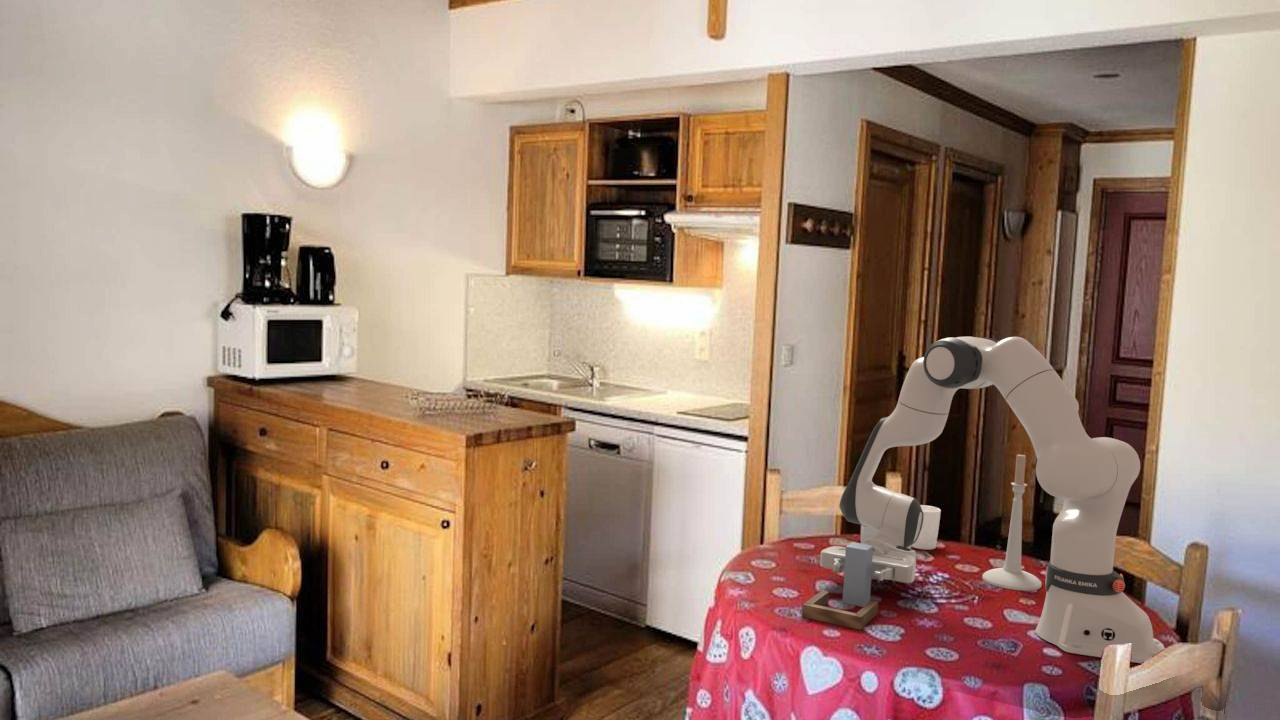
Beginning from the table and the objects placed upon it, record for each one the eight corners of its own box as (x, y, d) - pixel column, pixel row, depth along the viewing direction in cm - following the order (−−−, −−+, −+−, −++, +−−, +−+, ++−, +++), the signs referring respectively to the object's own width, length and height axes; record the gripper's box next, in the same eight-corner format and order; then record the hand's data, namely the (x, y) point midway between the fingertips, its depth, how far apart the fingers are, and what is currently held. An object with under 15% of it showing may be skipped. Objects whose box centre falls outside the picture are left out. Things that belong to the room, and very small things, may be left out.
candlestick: (980, 570, 234) (989, 446, 232) (1038, 577, 231) (1047, 451, 229) (984, 586, 222) (993, 455, 220) (1044, 593, 219) (1055, 460, 216)
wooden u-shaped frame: (877, 613, 200) (878, 601, 200) (860, 629, 190) (861, 617, 190) (821, 601, 206) (821, 590, 206) (802, 616, 196) (802, 604, 196)
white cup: (900, 545, 255) (903, 507, 254) (917, 540, 260) (919, 503, 259) (927, 552, 249) (930, 513, 248) (944, 547, 254) (946, 509, 254)
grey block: (869, 601, 208) (873, 545, 207) (863, 606, 204) (866, 550, 203) (849, 597, 210) (852, 542, 209) (842, 602, 206) (845, 546, 205)
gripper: (832, 536, 223) (810, 549, 211) (923, 551, 212) (905, 566, 201) (830, 563, 223) (808, 578, 211) (921, 580, 213) (903, 596, 201)
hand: (856, 572), depth 206 cm, fingers open, 8 cm apart
